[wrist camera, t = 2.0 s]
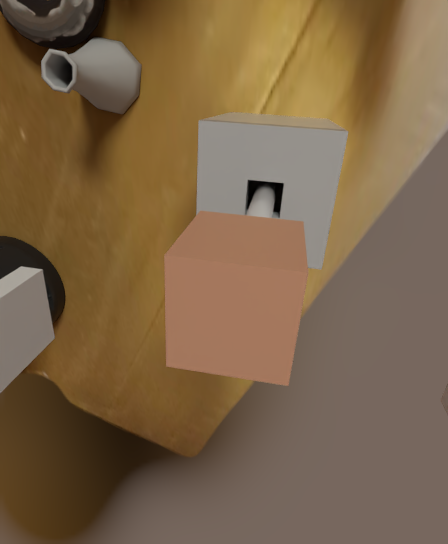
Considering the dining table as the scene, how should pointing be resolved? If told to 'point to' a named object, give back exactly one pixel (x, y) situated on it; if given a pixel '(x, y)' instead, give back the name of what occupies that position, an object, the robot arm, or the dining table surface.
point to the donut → (53, 20)
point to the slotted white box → (273, 169)
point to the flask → (96, 73)
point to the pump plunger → (236, 292)
